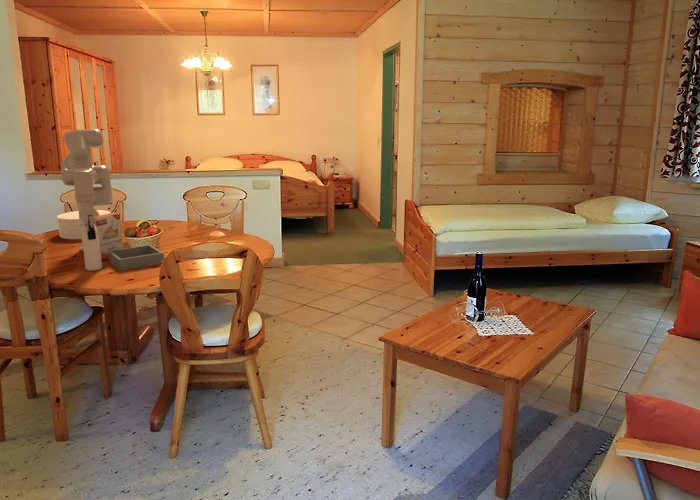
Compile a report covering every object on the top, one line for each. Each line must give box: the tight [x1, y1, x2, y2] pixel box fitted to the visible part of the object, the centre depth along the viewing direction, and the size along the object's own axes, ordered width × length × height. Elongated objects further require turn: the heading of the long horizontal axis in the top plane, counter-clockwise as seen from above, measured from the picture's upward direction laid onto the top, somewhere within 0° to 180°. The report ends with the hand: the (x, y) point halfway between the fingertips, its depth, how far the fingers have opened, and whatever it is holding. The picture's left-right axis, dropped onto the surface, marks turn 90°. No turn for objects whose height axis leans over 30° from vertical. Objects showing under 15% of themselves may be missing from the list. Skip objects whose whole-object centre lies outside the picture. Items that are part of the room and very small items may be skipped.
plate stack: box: [56, 209, 111, 240], centre depth 330 cm, size 28×28×12 cm
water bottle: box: [81, 223, 103, 272], centre depth 257 cm, size 7×7×25 cm
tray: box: [108, 244, 165, 271], centre depth 270 cm, size 20×20×5 cm
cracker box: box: [94, 212, 124, 261], centre depth 278 cm, size 14×6×21 cm, turn 153°
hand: (90, 237), depth 256 cm, fingers closed on water bottle, 7 cm apart
